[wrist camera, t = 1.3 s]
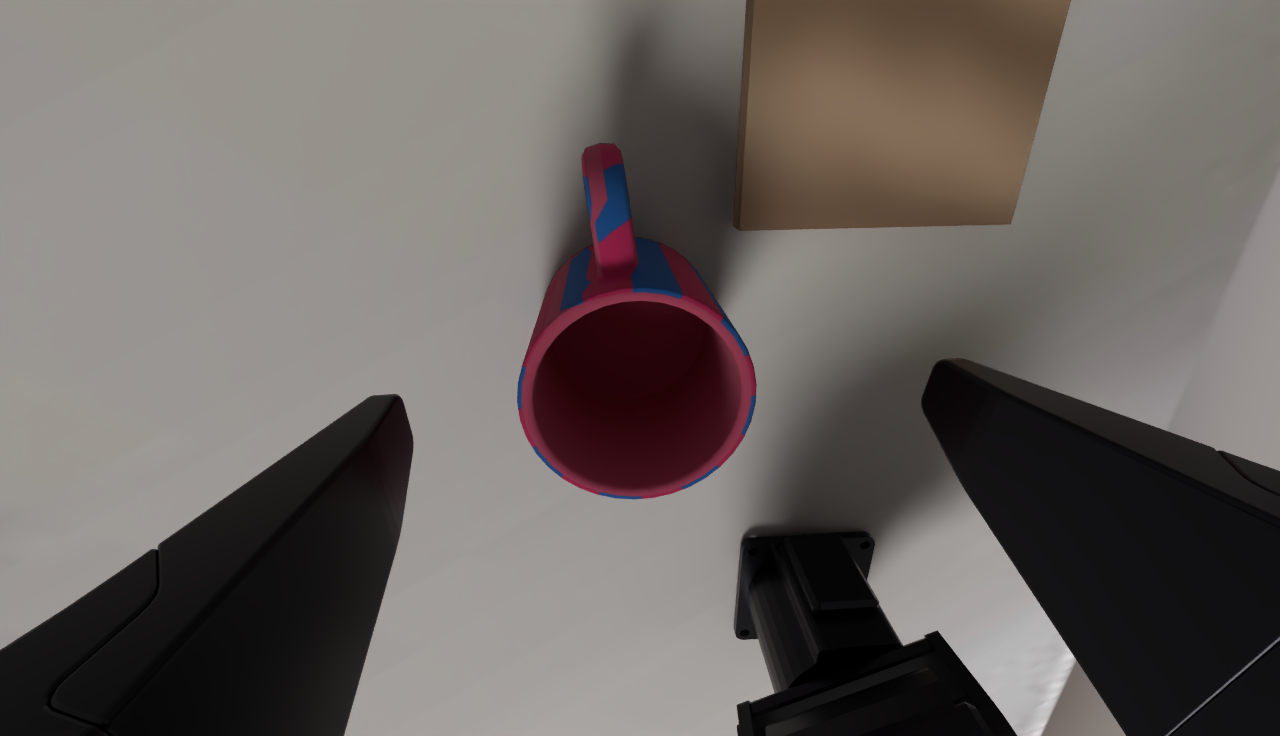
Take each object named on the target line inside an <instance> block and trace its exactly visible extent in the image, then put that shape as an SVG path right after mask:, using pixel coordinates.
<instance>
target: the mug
mask: <svg viewBox="0 0 1280 736" xmlns="http://www.w3.org/2000/svg"><path fill="white" fill-rule="evenodd" d="M582 171H583V180H584V188H585V195H586V201H587V208H588V214H589V220H590V226H591V232H592V239H593V245H590V246H588V247H586V248H584V249H583V250H581V251H580V252H578V253H577V254H575V255H574V256H572V257H571V258H570V259H569V260H568V261H567V262H566V263H565V264H564V265H563V266H562V267H561V268H560V269H559V271H558V272H557V273H556V275H555V276H554V278H553V279H552V281H551V283H550V285H549V287H548V289H547V292H546V294H545V297H544V300H543V303H542V306H541V309H540V312H539V316H538V319H537V322H536V325H535V328H534V331H533V334H532V337H531V340H530V343H529V346H528V349H527V352H526V355H525V358H524V362H523V365H522V369H521V373H520V377H519V381H518V396H517V403H518V410H519V416H520V421H521V424H522V426H523V429H524V432H525V435H526V437H527V439H528V441H529V442H530V444H531V446H532V447H533V449H534V451H535V452H536V454H537V455H538V456H539V457H540V458H541V459H542V461H543V462H544V463H545V464H546V465H547V466H548V467H549V468H550V469H551V470H553V471H554V472H555V473H556V474H558V475H559V476H560V477H561V478H563V479H564V480H566V481H568V482H570V483H571V484H573V485H575V486H577V487H579V488H581V489H584V490H587V491H589V492H592V493H595V494H598V495H603V496H607V497H612V498H621V499H644V498H654V497H659V496H663V495H668V494H672V493H675V492H677V491H680V490H682V489H685V488H688V487H690V486H692V485H694V484H695V483H697V482H699V481H701V480H703V479H704V478H706V477H707V476H709V475H710V474H711V473H713V472H714V471H715V470H716V469H718V468H719V467H720V466H721V465H722V464H723V463H724V462H725V461H726V460H727V459H728V458H729V457H730V456H731V455H732V454H733V453H734V451H735V450H736V448H737V447H738V445H739V444H740V442H741V441H742V439H743V438H744V436H745V433H746V431H747V429H748V427H749V425H750V422H751V419H752V415H753V411H754V407H755V403H756V379H755V372H754V366H753V363H752V360H751V357H750V355H749V352H748V349H747V347H746V346H745V344H744V342H743V341H742V339H741V337H740V336H739V334H738V332H737V331H736V329H735V328H734V326H733V325H732V323H731V322H730V320H729V319H728V317H727V316H726V314H725V313H724V311H723V310H722V308H721V307H720V305H719V304H718V302H717V300H716V299H715V297H714V296H713V294H712V293H711V291H710V290H709V288H708V287H707V285H706V284H705V282H704V281H703V279H702V278H701V276H700V275H699V273H698V272H697V270H696V269H695V268H694V267H693V266H692V265H691V264H690V263H689V261H688V260H687V259H685V258H684V257H683V256H681V255H680V254H679V253H678V252H676V251H675V250H673V249H671V248H669V247H667V246H665V245H663V244H661V243H658V242H655V241H652V240H648V239H643V238H635V237H634V231H633V224H632V217H631V210H630V203H629V196H628V189H627V183H626V176H625V170H624V165H623V159H622V155H621V151H620V149H619V148H618V147H617V146H616V145H615V144H610V143H599V144H596V145H593V146H590V147H587V148H585V150H584V152H583V154H582Z"/></svg>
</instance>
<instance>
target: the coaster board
mask: <svg viewBox="0 0 1280 736" xmlns="http://www.w3.org/2000/svg"><path fill="white" fill-rule="evenodd" d="M1070 2H1071V0H746V17H745V34H744V51H743V68H742V85H741V102H740V118H739V135H738V152H737V169H736V186H735V203H734V220H733V226H734V227H735V228H737V229H738V230H739V231H748V230H790V229H832V228H874V227H916V226H958V225H1000V224H1011V222H1012V218H1013V215H1014V211H1015V207H1016V203H1017V200H1018V196H1019V192H1020V188H1021V185H1022V181H1023V177H1024V173H1025V170H1026V166H1027V162H1028V159H1029V155H1030V151H1031V147H1032V144H1033V140H1034V136H1035V132H1036V129H1037V125H1038V121H1039V117H1040V114H1041V110H1042V106H1043V103H1044V99H1045V95H1046V91H1047V88H1048V84H1049V80H1050V76H1051V73H1052V69H1053V65H1054V62H1055V58H1056V54H1057V50H1058V47H1059V43H1060V39H1061V35H1062V32H1063V28H1064V24H1065V20H1066V17H1067V13H1068V9H1069V6H1070Z"/></svg>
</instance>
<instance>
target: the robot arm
mask: <svg viewBox="0 0 1280 736" xmlns="http://www.w3.org/2000/svg"><path fill="white" fill-rule="evenodd" d="M921 405H922V410H923V413H924V415H925V416H926V418H927V420H928V422H929V424H930V426H931V428H932V430H933V432H934V434H935V436H936V438H937V440H938V441H939V443H940V445H941V447H942V449H943V451H944V453H945V455H946V457H947V459H948V461H949V463H950V464H951V466H952V468H953V470H954V472H955V474H956V476H957V477H958V479H959V481H960V483H961V484H962V486H963V488H964V489H965V491H966V492H967V494H968V496H969V497H970V499H971V500H972V502H973V503H974V505H975V506H976V508H977V509H978V511H979V512H980V514H981V515H982V517H983V518H984V520H985V521H986V523H987V524H988V526H989V528H990V529H991V531H992V532H993V534H994V535H995V537H996V538H997V540H998V541H999V543H1000V544H1001V546H1002V547H1003V549H1004V550H1005V552H1006V553H1007V555H1008V556H1009V558H1010V559H1011V561H1012V562H1013V564H1014V566H1015V567H1016V569H1017V570H1018V572H1019V573H1020V575H1021V576H1022V578H1023V579H1024V581H1025V582H1026V584H1027V585H1028V587H1029V588H1030V590H1031V591H1032V593H1033V594H1034V596H1035V597H1036V599H1037V601H1038V602H1039V604H1040V605H1041V607H1042V608H1043V610H1044V611H1045V613H1046V614H1047V616H1048V617H1049V619H1050V620H1051V622H1052V623H1053V625H1054V626H1055V628H1056V629H1057V631H1058V632H1059V634H1060V635H1061V637H1062V639H1063V640H1064V642H1065V643H1066V645H1067V646H1068V648H1069V649H1070V651H1071V652H1072V654H1073V655H1074V657H1075V658H1076V660H1077V661H1078V663H1079V664H1080V666H1081V667H1082V669H1083V670H1084V672H1085V673H1086V675H1087V676H1088V678H1089V680H1090V681H1091V683H1092V684H1093V686H1094V687H1095V689H1096V690H1097V692H1098V693H1099V695H1100V696H1101V698H1102V699H1103V701H1104V702H1105V704H1106V705H1107V707H1108V708H1109V710H1110V711H1111V713H1112V714H1113V716H1114V718H1115V719H1116V721H1117V722H1118V724H1119V725H1120V727H1121V728H1122V730H1123V731H1124V733H1125V734H1126V736H1280V471H1278V470H1275V469H1272V468H1269V467H1267V466H1263V465H1261V464H1258V463H1255V462H1252V461H1249V460H1246V459H1244V458H1241V457H1238V456H1235V455H1232V454H1230V453H1227V452H1224V451H1216V450H1215V449H1214V448H1212V447H1210V446H1207V445H1204V444H1202V443H1198V442H1195V441H1193V440H1190V439H1188V438H1185V437H1182V436H1179V435H1176V434H1173V433H1171V432H1168V431H1165V430H1162V429H1160V428H1157V427H1154V426H1151V425H1148V424H1146V423H1143V422H1140V421H1137V420H1134V419H1132V418H1129V417H1126V416H1123V415H1120V414H1118V413H1115V412H1112V411H1109V410H1106V409H1104V408H1101V407H1098V406H1095V405H1092V404H1090V403H1087V402H1084V401H1081V400H1078V399H1076V398H1073V397H1070V396H1067V395H1064V394H1062V393H1059V392H1056V391H1053V390H1050V389H1048V388H1045V387H1042V386H1039V385H1036V384H1034V383H1031V382H1028V381H1025V380H1022V379H1020V378H1017V377H1014V376H1011V375H1008V374H1006V373H1003V372H1000V371H997V370H994V369H992V368H989V367H986V366H983V365H980V364H978V363H975V362H972V361H969V360H966V359H962V358H955V359H942V360H939V361H937V362H936V363H935V365H934V366H933V368H932V371H931V374H930V376H929V379H928V382H927V384H926V387H925V390H924V393H923V395H922V400H921ZM412 455H413V435H412V431H411V428H410V424H409V420H408V417H407V413H406V410H405V406H404V403H403V400H402V398H401V397H400V396H399V395H397V394H388V395H373V396H370V397H369V398H367V399H366V400H364V401H363V402H361V403H360V404H358V405H357V406H356V407H354V408H353V409H351V410H350V411H348V412H347V413H346V414H344V415H343V416H341V417H340V418H338V419H337V420H336V421H334V422H333V423H331V424H330V425H328V426H327V427H326V428H324V429H323V430H321V431H320V432H318V433H317V434H316V435H314V436H313V437H311V438H310V439H308V440H307V441H306V442H304V443H303V444H301V445H300V446H298V447H297V448H296V449H294V450H293V451H291V452H290V453H288V454H287V455H286V456H284V457H283V458H281V459H280V460H278V461H277V462H276V463H274V464H273V465H271V466H270V467H268V468H267V469H266V470H264V471H263V472H261V473H260V474H258V475H257V476H256V477H254V478H253V479H251V480H250V481H248V482H247V483H246V484H244V485H243V486H241V487H240V488H238V489H237V490H236V491H234V492H233V493H231V494H230V495H228V496H227V497H226V498H224V499H223V500H221V501H220V502H218V503H217V504H216V505H214V506H213V507H211V508H210V509H208V510H207V511H206V512H204V513H203V514H201V515H200V516H198V517H197V518H196V519H194V520H193V521H191V522H190V523H188V524H187V525H186V526H184V527H183V528H181V529H180V530H178V531H177V532H176V533H174V534H173V535H171V536H170V537H168V538H167V539H166V540H164V541H163V542H161V543H160V544H159V545H158V550H157V549H151V550H150V551H148V552H147V553H145V554H144V555H143V556H141V557H140V558H138V559H137V560H135V561H134V562H133V563H131V564H130V565H128V566H127V567H125V568H124V569H123V570H121V571H120V572H118V573H117V574H115V575H114V576H112V577H111V578H109V579H108V580H106V581H105V582H104V583H102V584H101V585H99V586H98V587H96V588H95V589H93V590H92V591H90V592H89V593H87V594H86V595H84V596H83V597H81V598H80V599H78V600H77V601H76V602H74V603H73V604H71V605H70V606H68V607H67V608H65V609H64V610H62V611H60V612H59V613H57V614H56V615H54V616H53V617H51V618H50V619H48V620H46V621H45V622H43V623H42V624H40V625H39V626H37V627H35V628H34V629H32V630H31V631H29V632H28V633H26V634H25V635H23V636H21V637H20V638H18V639H17V640H15V641H14V642H12V643H10V644H9V645H7V646H6V647H4V648H3V649H1V650H0V736H344V734H345V730H346V726H347V723H348V719H349V716H350V712H351V709H352V705H353V702H354V698H355V695H356V691H357V688H358V684H359V680H360V677H361V673H362V670H363V666H364V663H365V659H366V656H367V652H368V649H369V645H370V641H371V638H372V634H373V631H374V627H375V624H376V620H377V617H378V613H379V610H380V606H381V603H382V599H383V595H384V592H385V588H386V585H387V581H388V578H389V574H390V571H391V567H392V564H393V560H394V556H395V553H396V549H397V545H398V541H399V537H400V533H401V527H402V521H403V515H404V508H405V502H406V495H407V488H408V482H409V475H410V468H411V462H412ZM864 541H865V542H864ZM862 542H864V543H862ZM874 546H875V542H874V540H873V538H872V537H871V535H870V534H869V533H867V532H846V533H828V534H811V535H793V536H775V537H757V538H748V539H746V540H744V541H743V542H742V544H741V548H740V560H739V571H738V583H737V595H736V607H735V618H734V631H735V634H736V637H737V638H739V639H742V640H747V639H758V640H759V643H760V646H761V650H762V653H763V656H764V659H765V663H766V666H767V669H768V672H769V676H770V679H771V682H772V685H773V689H774V692H775V694H772V695H769V696H767V697H764V698H761V699H758V700H756V701H753V702H750V701H746V702H743V703H740V704H738V705H737V711H738V719H739V725H737V732H738V736H1017V735H1016V733H1015V732H1014V730H1013V729H1012V727H1011V726H1010V724H1009V723H1008V721H1007V720H1006V718H1005V717H1004V716H1003V714H1002V713H1001V711H1000V710H999V709H998V707H997V706H996V705H995V703H994V702H993V701H992V700H991V698H990V697H989V696H988V694H987V693H986V692H985V691H984V689H983V688H982V687H981V686H980V684H979V683H978V682H977V680H976V679H975V678H974V677H973V675H972V674H971V673H970V672H969V670H968V669H967V668H966V666H965V665H964V664H963V663H962V661H961V660H960V659H959V657H958V656H957V655H956V654H955V652H954V651H953V650H952V649H951V647H950V646H949V645H948V643H947V642H946V641H945V640H944V638H943V637H942V636H941V635H940V633H939V632H938V631H935V632H932V633H929V634H927V635H924V637H925V638H923V639H921V640H918V641H915V642H912V643H910V644H907V645H904V646H903V645H902V643H901V641H900V640H899V638H898V636H897V634H896V633H895V631H894V629H893V627H892V626H891V624H890V622H889V621H888V619H887V617H886V615H885V614H884V612H883V610H882V609H881V607H880V605H879V601H878V599H877V597H876V596H875V594H874V592H873V590H872V589H871V587H870V585H869V584H868V582H867V578H868V573H869V569H870V564H871V560H872V555H873V550H874ZM750 548H754V549H752V550H749V549H750Z"/></svg>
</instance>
